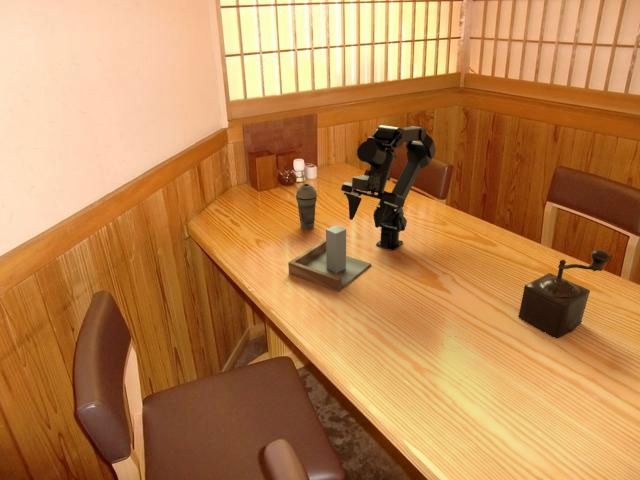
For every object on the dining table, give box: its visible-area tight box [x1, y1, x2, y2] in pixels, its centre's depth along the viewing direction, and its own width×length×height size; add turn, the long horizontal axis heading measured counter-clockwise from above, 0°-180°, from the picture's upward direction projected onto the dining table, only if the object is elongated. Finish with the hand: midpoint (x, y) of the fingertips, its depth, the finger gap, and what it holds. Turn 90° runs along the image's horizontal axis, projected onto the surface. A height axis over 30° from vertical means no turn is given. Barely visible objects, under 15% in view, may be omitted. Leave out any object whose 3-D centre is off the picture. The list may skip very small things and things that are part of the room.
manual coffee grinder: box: [517, 249, 611, 339], centre depth 108 cm, size 16×11×18 cm
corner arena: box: [287, 239, 372, 293], centre depth 135 cm, size 17×17×4 cm
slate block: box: [325, 225, 347, 273], centre depth 132 cm, size 4×4×12 cm
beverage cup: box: [295, 171, 318, 231], centre depth 157 cm, size 7×7×20 cm
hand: (363, 223), depth 132 cm, fingers open, 9 cm apart
